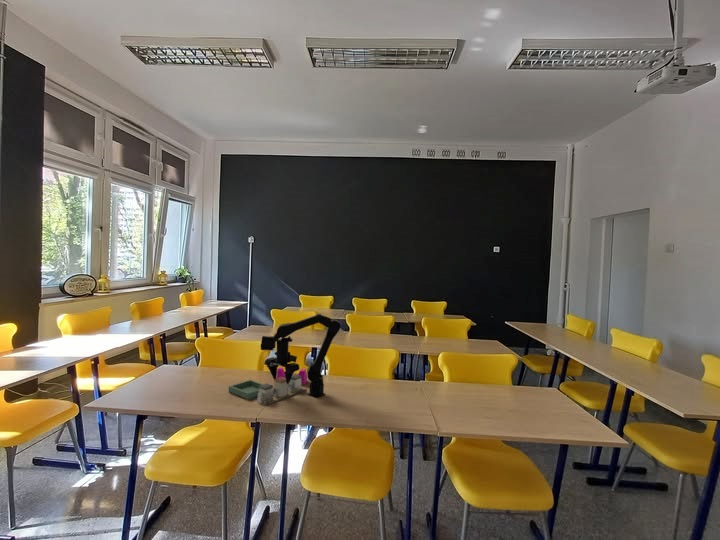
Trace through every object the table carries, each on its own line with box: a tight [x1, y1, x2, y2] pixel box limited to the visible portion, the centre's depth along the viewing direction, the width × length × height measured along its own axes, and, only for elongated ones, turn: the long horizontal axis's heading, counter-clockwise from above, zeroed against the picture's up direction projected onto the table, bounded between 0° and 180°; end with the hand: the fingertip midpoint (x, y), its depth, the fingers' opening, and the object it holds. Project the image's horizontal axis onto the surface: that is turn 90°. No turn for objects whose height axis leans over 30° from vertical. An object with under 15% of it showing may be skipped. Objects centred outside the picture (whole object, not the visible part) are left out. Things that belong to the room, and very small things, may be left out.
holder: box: [251, 373, 308, 407], centre depth 178 cm, size 11×26×7 cm, turn 145°
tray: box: [228, 379, 264, 401], centre depth 179 cm, size 15×13×3 cm
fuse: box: [273, 377, 288, 398], centre depth 178 cm, size 5×5×8 cm
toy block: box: [276, 366, 308, 385], centre depth 197 cm, size 15×6×8 cm, turn 84°
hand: (281, 381), depth 178 cm, fingers open, 9 cm apart
